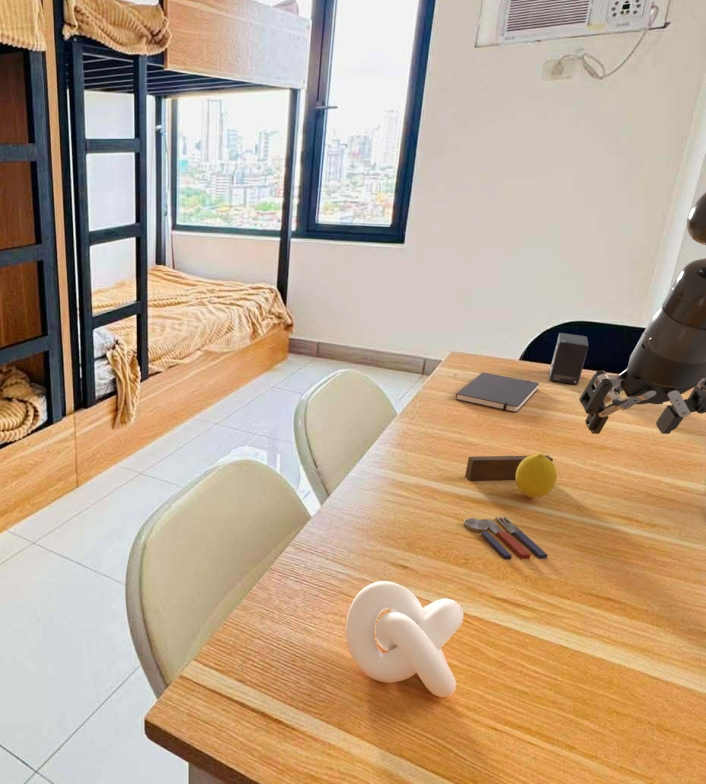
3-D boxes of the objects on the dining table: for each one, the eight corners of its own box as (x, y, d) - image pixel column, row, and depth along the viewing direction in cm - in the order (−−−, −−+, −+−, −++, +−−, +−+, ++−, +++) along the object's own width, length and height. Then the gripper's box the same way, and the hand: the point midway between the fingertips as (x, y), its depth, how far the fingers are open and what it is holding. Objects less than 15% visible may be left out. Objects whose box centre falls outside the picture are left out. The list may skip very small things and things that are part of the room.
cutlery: (549, 558, 88) (550, 554, 88) (496, 559, 88) (497, 555, 88) (505, 519, 98) (506, 515, 98) (458, 519, 98) (458, 515, 98)
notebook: (481, 377, 162) (455, 399, 147) (482, 372, 161) (456, 393, 147) (538, 388, 153) (516, 413, 139) (539, 382, 153) (517, 406, 138)
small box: (579, 385, 155) (590, 345, 152) (548, 381, 159) (557, 341, 155) (578, 374, 163) (588, 335, 160) (548, 370, 167) (557, 332, 163)
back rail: (542, 475, 111) (547, 455, 110) (548, 479, 110) (553, 458, 109) (464, 476, 111) (468, 456, 110) (469, 480, 110) (473, 460, 109)
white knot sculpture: (491, 713, 64) (508, 642, 61) (377, 721, 63) (389, 651, 60) (430, 634, 74) (443, 571, 71) (332, 641, 73) (341, 577, 70)
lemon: (554, 508, 101) (565, 464, 98) (514, 503, 103) (525, 459, 100) (545, 492, 106) (556, 449, 103) (508, 487, 108) (517, 445, 105)
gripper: (732, 320, 78) (672, 410, 89) (603, 323, 81) (560, 410, 92) (767, 360, 73) (699, 450, 84) (628, 362, 75) (579, 449, 87)
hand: (626, 429), depth 88 cm, fingers open, 8 cm apart
